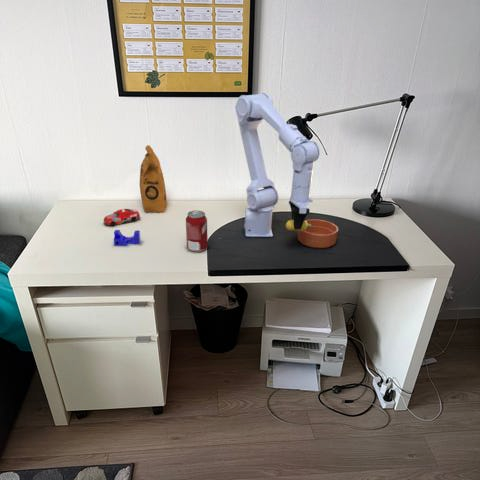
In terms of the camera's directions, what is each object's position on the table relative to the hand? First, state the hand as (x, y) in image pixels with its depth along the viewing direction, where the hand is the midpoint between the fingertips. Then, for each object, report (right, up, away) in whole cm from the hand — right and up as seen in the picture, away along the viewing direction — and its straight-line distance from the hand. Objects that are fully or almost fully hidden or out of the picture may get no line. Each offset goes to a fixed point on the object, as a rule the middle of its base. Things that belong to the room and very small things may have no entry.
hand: (296, 226), depth 140 cm
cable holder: (-55, -5, +5) cm, 56 cm away
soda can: (-32, -7, +3) cm, 33 cm away
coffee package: (-52, +14, +31) cm, 62 cm away
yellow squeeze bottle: (0, -1, +1) cm, 1 cm away
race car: (-61, +6, +19) cm, 64 cm away
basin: (+8, -3, +11) cm, 14 cm away
